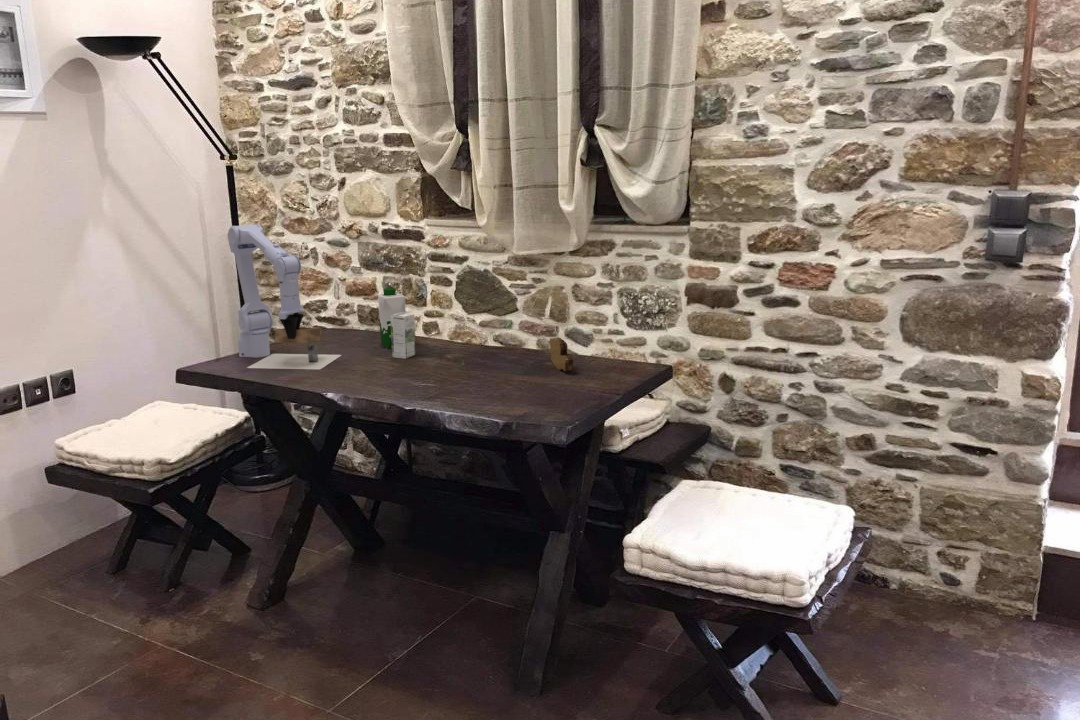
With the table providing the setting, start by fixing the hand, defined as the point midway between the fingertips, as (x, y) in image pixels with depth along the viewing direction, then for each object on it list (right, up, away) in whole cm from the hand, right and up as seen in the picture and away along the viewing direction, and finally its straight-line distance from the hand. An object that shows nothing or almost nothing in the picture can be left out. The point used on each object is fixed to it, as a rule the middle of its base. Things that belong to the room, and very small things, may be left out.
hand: (293, 337), depth 276 cm
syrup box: (+32, -6, +17) cm, 37 cm away
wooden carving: (+84, -10, -2) cm, 85 cm away
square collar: (+1, -1, +5) cm, 5 cm away
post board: (-1, -9, +8) cm, 11 cm away
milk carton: (+26, -2, +34) cm, 43 cm away
